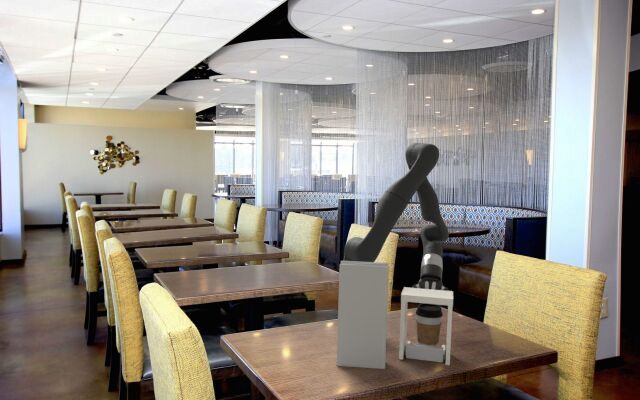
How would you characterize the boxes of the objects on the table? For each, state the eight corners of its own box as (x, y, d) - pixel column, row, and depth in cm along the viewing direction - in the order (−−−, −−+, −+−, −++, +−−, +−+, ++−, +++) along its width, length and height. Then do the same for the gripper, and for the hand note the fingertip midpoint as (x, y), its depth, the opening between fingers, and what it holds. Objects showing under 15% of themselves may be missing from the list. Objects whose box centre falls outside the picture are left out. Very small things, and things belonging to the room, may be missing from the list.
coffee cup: (442, 349, 165) (444, 304, 164) (439, 359, 157) (441, 311, 156) (415, 346, 168) (417, 301, 167) (412, 355, 160) (414, 307, 159)
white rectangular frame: (398, 359, 156) (401, 294, 155) (402, 344, 169) (404, 285, 167) (450, 365, 153) (453, 299, 151) (450, 350, 165) (452, 289, 164)
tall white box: (384, 361, 154) (388, 262, 152) (385, 368, 149) (389, 266, 146) (337, 358, 155) (340, 260, 153) (336, 365, 150) (339, 264, 148)
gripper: (413, 261, 186) (408, 303, 175) (450, 264, 183) (448, 307, 172) (413, 273, 191) (409, 314, 181) (450, 276, 188) (448, 318, 177)
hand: (428, 311), depth 176 cm, fingers closed
